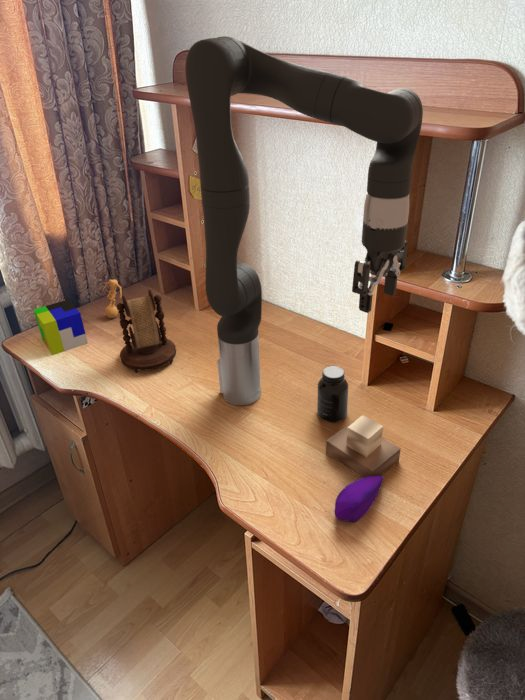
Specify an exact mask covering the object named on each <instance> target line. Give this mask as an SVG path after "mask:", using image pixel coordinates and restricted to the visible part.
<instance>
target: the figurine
mask: <svg viewBox="0 0 525 700" xmlns="http://www.w3.org/2000/svg"><path fill="white" fill-rule="evenodd" d="M108 285H109V291H108V294H107V296H106V298H107V299H108V300H109V301H110V303H109V304H108V305H107V306H106V307H105V310H104V313H105V316H106V317H107V318H109V319H115V318H116V317H117V316H118V315H119V313H118V311H119V310H117V305H115V304H116V299H115V298H116V295H117V293H118V292H117V291H116V289H117V287H118V289H119V296H118V297H119V298H120V299H122V296H123V294H122V291H123V290H122V286H121V285H120V284H119V283H118V280H117V279H109V280H108V282H106V284H105V285H104V286H103V289H102V291H104V290H105V289H106V288H107V287H108Z"/></svg>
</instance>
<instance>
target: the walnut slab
mask: <svg viewBox="0 0 525 700" xmlns="http://www.w3.org/2000/svg"><path fill="white" fill-rule="evenodd" d="M355 421H356V420H354V421H352V422H351V423H349V424H347V425H346V426H344V427H343V428H342V429H341V430H339V431H338V432H336V433H334V434H333V435H332V436H330V437H329V438H328V439H326V443H325V453H326V454H327V455H328V456H330V457H331V458H332V459H334V460H335V461H337V462H339V463H340V464H341V465H343V466H344V467H346V469H348V470H350V471H352V473H354V474H356V475H357V476H358V477H360V479H361V478H364V477H369V476H383V475H384V474H386V472H388V471H389V470H390V469H391V468H392V467H394V466H395V465H397V464H398V463H399V462H400V457H401V456H400V455H401V447H398V446H397V445H396V444H394V443H392V442H390V441H389V440H387V439H385V438H384V437H382V440H381V445H380V446H379V447H378V448H377V449H375V450H374V451H373V452H372V453H371V454H370V455H369V456H368V457H365V456H363V455H361V454H360V453H358V452H356V451H355V450H353V449H351V448H350V447H348V446H346V443H347V429H348V426H350V425H351V424H352V423H353V422H355Z"/></svg>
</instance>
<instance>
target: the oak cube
mask: <svg viewBox="0 0 525 700" xmlns="http://www.w3.org/2000/svg"><path fill="white" fill-rule="evenodd" d="M354 421H355V422H353V421H352V422H353V423H352V422H351V423H352V424H351V423H350V424H351V425H350V426H348V425H347V426H348V429H347V443H346V446H348V447H350V448H351V449H353V450H355V451H356V452H358V453H360V454H361V455H363V456H365V457H368V456H369V455H370V454H371V453H372V452H373V451H374V450H375V449H377V448H378V447H379V446H380V445H381V440H382V438H383V432H384V431H383V430H384V426H383V425H382V424H380V423H378V422H376V421H375V420H372V419H371V418H369V417H367V416H365V415H364V414H362V415H361V416H359V418H357V419H355V420H354Z"/></svg>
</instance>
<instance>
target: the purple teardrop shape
mask: <svg viewBox="0 0 525 700" xmlns="http://www.w3.org/2000/svg"><path fill="white" fill-rule="evenodd" d="M383 481H384V476H383V475H382V476H369V477H364V478H361V477H360V478H359V479H357V480H355V481H353V482H350V483H349V484H347V485H346V486H345V487H344V488H343V489H342V490H341V491H340V492H339V493H338V495H337V496H336V498H335V502H334V503H335V504H334V516H335V518H337V520H339V521H343V522H344V521H345V522H348V523H349V522H350V523H355V522H358V521H359V520H361V519H362V518H363V517H364V516H365V515H366V514H367V513H368V511H369V510H370V509H371V507H372V506H373V504H374V502H375V500H376V498H377V496H378V495H379V492H380V489H381V487H382V484H383Z"/></svg>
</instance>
